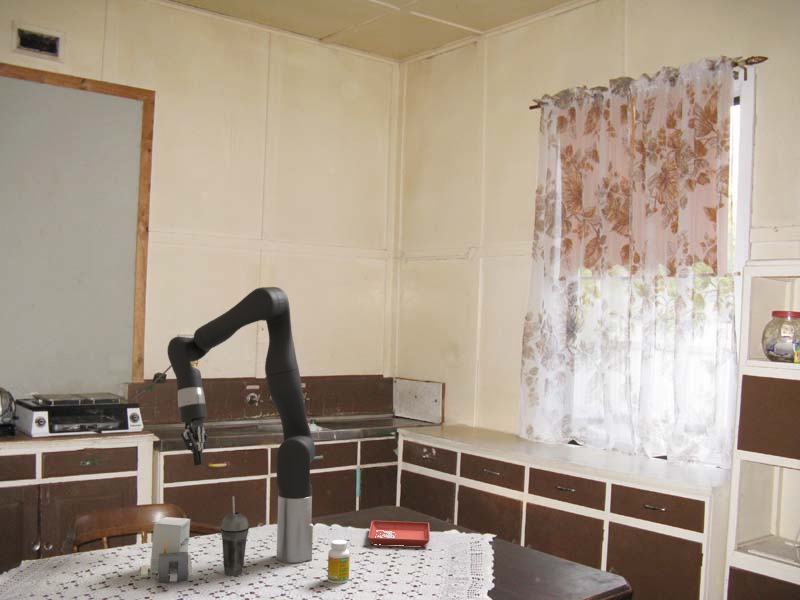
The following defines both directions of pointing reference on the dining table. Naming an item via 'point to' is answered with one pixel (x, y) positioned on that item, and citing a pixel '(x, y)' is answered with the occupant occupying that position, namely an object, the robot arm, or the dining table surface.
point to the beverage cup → (234, 542)
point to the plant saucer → (400, 533)
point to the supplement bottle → (338, 562)
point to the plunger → (172, 567)
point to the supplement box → (169, 538)
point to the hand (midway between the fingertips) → (199, 465)
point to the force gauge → (163, 567)
